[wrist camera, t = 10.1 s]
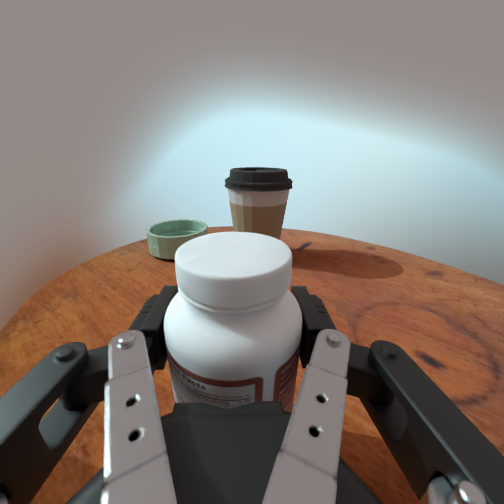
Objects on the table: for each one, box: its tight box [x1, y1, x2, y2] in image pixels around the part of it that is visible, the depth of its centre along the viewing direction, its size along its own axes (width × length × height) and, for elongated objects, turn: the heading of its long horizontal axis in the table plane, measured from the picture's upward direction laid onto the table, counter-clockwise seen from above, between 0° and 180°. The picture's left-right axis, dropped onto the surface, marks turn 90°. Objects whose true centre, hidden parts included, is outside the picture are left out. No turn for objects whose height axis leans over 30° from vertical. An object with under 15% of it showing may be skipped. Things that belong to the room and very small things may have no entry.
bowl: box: [146, 220, 208, 259], centre depth 46 cm, size 11×11×4 cm
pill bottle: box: [164, 232, 302, 413], centre depth 12 cm, size 6×6×11 cm
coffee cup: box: [225, 167, 292, 240], centre depth 42 cm, size 11×11×15 cm
